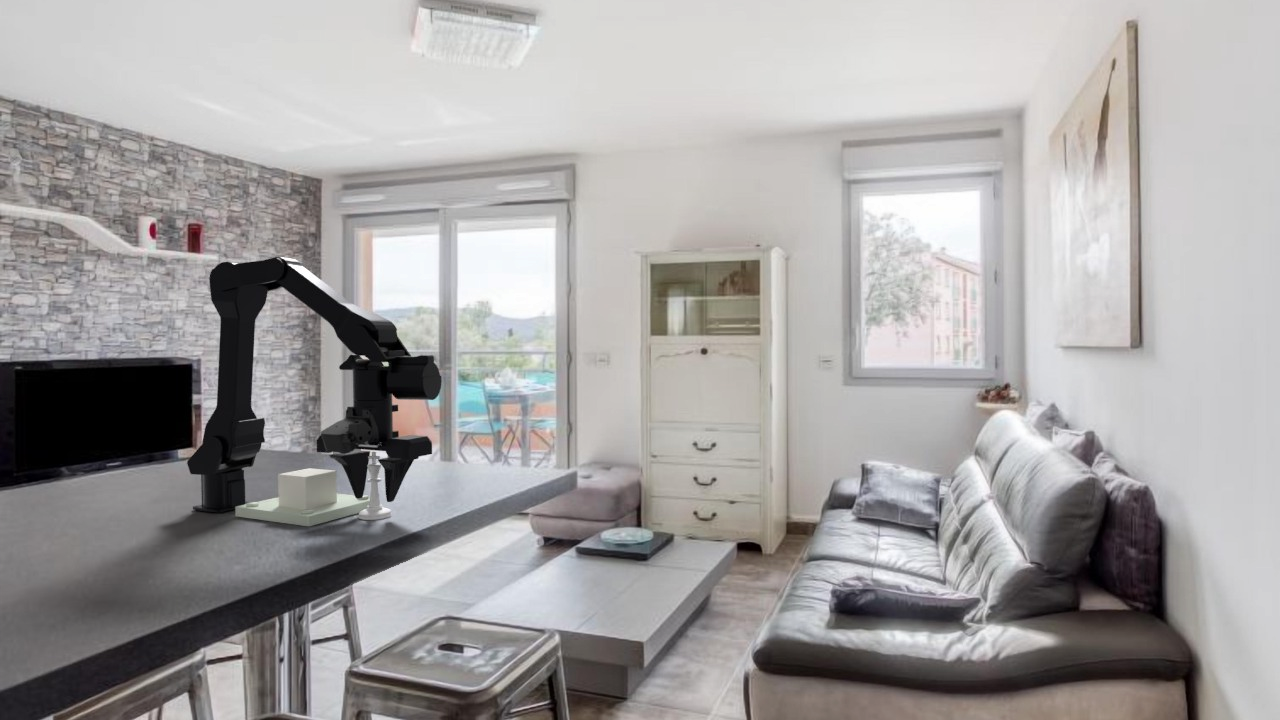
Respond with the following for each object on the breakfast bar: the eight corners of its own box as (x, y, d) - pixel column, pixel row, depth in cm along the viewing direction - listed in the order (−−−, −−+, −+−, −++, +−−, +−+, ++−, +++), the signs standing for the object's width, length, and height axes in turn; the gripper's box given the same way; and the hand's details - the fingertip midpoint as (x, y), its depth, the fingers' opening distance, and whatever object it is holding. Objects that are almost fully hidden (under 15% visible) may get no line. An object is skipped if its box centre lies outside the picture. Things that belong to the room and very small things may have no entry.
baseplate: (235, 516, 121) (235, 504, 120) (309, 499, 133) (309, 488, 133) (308, 526, 114) (308, 513, 113) (379, 507, 126) (379, 495, 126)
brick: (278, 506, 121) (277, 474, 120) (310, 498, 126) (309, 468, 126) (306, 509, 118) (305, 476, 118) (336, 501, 123) (336, 470, 123)
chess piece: (381, 520, 117) (379, 454, 117) (351, 519, 118) (350, 454, 118) (397, 513, 122) (396, 450, 122) (369, 512, 123) (368, 449, 123)
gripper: (286, 401, 116) (288, 504, 117) (380, 405, 108) (381, 516, 109) (344, 396, 126) (345, 491, 127) (433, 399, 118) (435, 501, 119)
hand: (374, 499), depth 120 cm, fingers open, 6 cm apart
